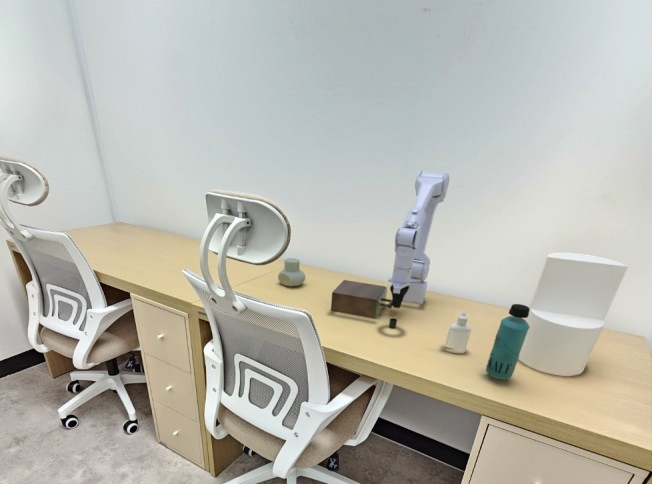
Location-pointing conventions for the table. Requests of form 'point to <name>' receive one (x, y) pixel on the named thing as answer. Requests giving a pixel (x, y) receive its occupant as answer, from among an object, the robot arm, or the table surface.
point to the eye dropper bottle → (458, 335)
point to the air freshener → (291, 273)
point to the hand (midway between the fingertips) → (396, 307)
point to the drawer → (383, 303)
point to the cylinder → (569, 311)
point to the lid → (392, 323)
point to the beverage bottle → (508, 343)
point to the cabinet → (356, 298)
